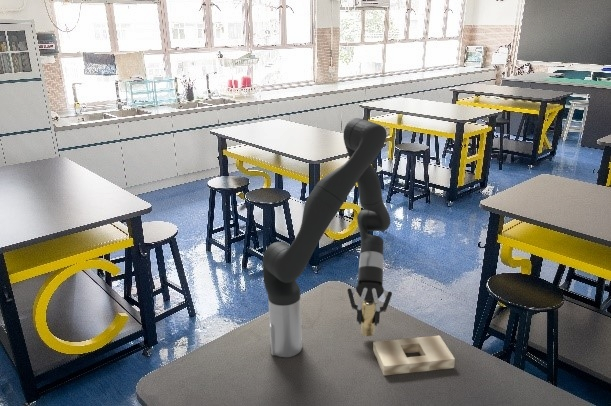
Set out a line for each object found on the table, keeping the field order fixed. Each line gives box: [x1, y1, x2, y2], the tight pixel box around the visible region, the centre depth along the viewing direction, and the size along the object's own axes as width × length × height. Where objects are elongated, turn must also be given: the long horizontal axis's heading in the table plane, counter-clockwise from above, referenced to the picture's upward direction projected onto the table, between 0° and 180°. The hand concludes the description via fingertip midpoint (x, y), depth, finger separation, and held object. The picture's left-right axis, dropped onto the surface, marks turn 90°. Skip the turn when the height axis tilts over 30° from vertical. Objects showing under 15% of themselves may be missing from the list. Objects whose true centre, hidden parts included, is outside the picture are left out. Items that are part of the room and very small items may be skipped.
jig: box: [372, 335, 456, 376], centre depth 138 cm, size 20×11×3 cm, turn 97°
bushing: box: [360, 300, 376, 337], centre depth 145 cm, size 4×4×10 cm
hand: (367, 324), depth 144 cm, fingers closed on bushing, 4 cm apart
